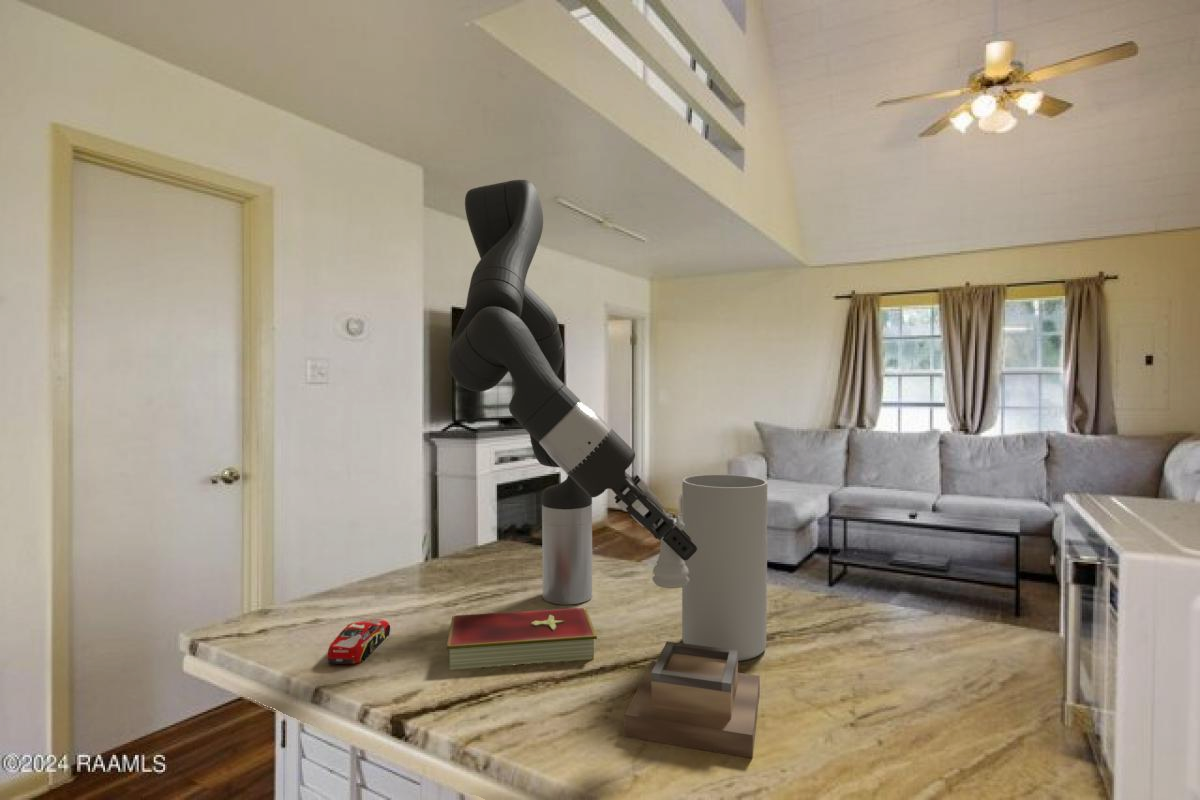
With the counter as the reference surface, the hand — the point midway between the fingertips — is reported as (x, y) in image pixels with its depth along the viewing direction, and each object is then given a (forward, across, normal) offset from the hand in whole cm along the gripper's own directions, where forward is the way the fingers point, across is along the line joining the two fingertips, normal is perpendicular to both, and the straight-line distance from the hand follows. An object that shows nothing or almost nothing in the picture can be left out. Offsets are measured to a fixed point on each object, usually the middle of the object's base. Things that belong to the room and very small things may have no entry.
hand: (688, 549), depth 75 cm
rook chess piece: (+2, 0, +4) cm, 5 cm away
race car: (-18, +20, +47) cm, 54 cm away
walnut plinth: (+15, 0, +13) cm, 20 cm away
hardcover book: (-1, +19, +30) cm, 36 cm away
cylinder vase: (+20, +19, +8) cm, 29 cm away
